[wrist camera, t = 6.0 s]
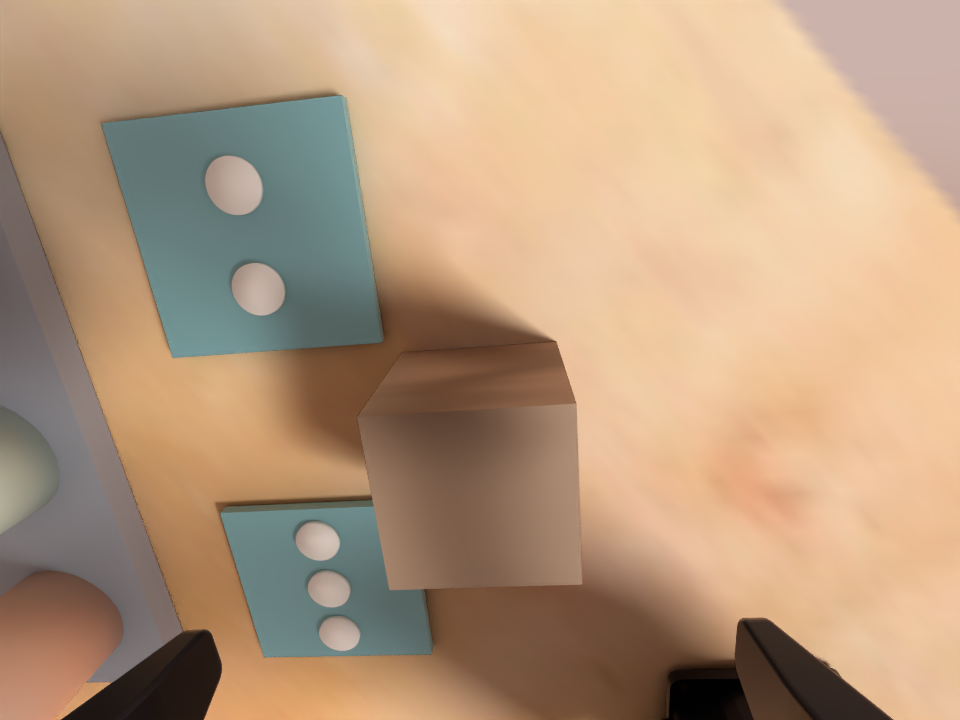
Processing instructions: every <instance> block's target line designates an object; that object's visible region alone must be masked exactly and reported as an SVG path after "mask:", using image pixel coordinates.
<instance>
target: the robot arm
mask: <svg viewBox="0 0 960 720" xmlns="http://www.w3.org/2000/svg"><path fill="white" fill-rule="evenodd" d="M735 665H736V669H692V670H675V671H673V672H671V673H670V674H669V675H668V677H667V684H666V710H665V717H662V718H661V720H893V719H892V718H891V717H890V716H888V715H887V714H886V713H885V712H883V711H882V710H881V709H880V708H878V707H877V706H876V705H875V704H873V703H872V702H871V701H870V700H868V699H867V698H866V697H865V696H863V695H862V694H861V693H860V692H858V691H857V690H856V689H855V688H853V687H852V686H851V685H850V684H849V683H847V682H846V681H845V680H844V679H842V677H841V676H840V675H839V673H838V672H837V671H836V670H835V669H833V668H829V667H827V666H826V665H825V664H824V663H822V662H821V661H820V660H819V659H817V658H816V657H815V656H814V655H813V654H811V653H810V652H809V651H808V650H806V649H805V648H804V647H803V646H801V645H800V644H799V643H798V642H796V641H795V640H794V639H793V638H791V637H790V636H789V635H788V634H786V633H785V632H784V631H783V630H781V629H780V628H779V627H778V626H776V625H775V624H774V623H773V622H771V621H770V620H768V619H766V618H742V619H740V620H739V622H738V625H737V635H736V646H735ZM221 672H222V663H221V660H220V657H219V654H218V651H217V648H216V645H215V642H214V639H213V636H212V634H211V633H210V632H209V631H208V630H186V631H183V632H182V633H180V634H178V635H177V636H176V637H174V638H173V639H172V640H170V641H169V642H167V643H166V644H165V645H163V646H162V647H161V648H159V649H158V650H156V651H155V652H154V653H152V654H151V655H150V656H148V657H147V658H145V659H144V660H143V661H141V662H140V663H138V664H137V665H136V666H134V667H133V668H132V669H130V670H129V671H127V672H126V673H125V674H123V675H122V676H121V677H119V678H118V679H116V680H115V681H114V682H112V683H111V684H110V685H108V686H107V687H105V688H104V689H103V690H101V691H100V692H99V693H97V694H96V695H94V696H93V697H92V698H90V699H89V700H88V701H86V702H85V703H83V704H82V705H81V706H79V707H78V708H76V709H75V710H74V711H72V712H71V713H70V714H68V715H67V716H65V717H64V718H63V719H61V720H204V718H205V716H206V713H207V711H208V708H209V706H210V703H211V701H212V698H213V696H214V693H215V690H216V688H217V685H218V683H219V680H220V677H221Z"/></svg>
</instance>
